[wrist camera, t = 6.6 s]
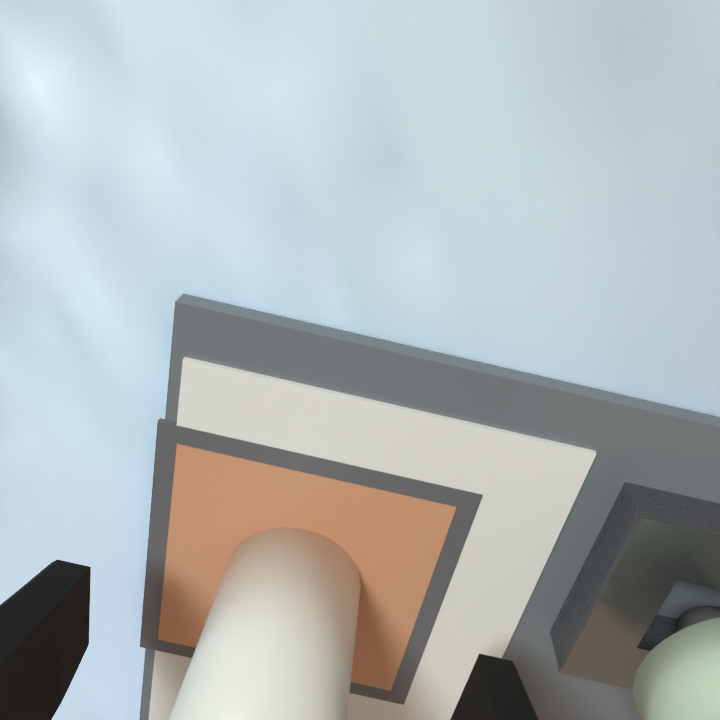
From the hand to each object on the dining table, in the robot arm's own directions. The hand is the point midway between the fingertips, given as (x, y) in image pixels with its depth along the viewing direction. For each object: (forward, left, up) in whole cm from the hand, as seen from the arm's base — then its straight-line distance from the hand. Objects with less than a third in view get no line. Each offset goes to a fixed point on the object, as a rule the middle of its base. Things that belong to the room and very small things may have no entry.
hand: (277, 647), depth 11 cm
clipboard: (-2, -4, -2) cm, 5 cm away
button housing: (+2, -8, -2) cm, 8 cm away
